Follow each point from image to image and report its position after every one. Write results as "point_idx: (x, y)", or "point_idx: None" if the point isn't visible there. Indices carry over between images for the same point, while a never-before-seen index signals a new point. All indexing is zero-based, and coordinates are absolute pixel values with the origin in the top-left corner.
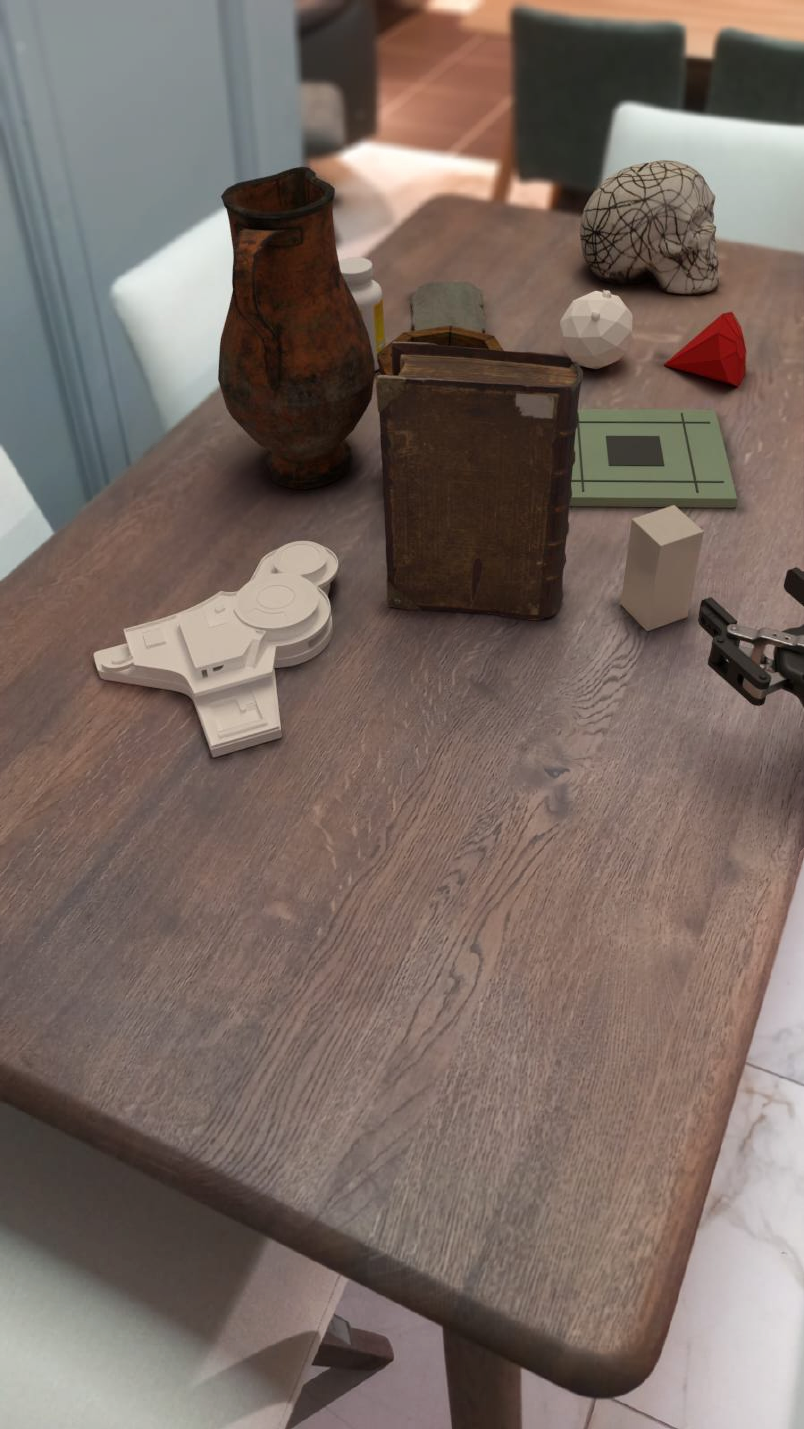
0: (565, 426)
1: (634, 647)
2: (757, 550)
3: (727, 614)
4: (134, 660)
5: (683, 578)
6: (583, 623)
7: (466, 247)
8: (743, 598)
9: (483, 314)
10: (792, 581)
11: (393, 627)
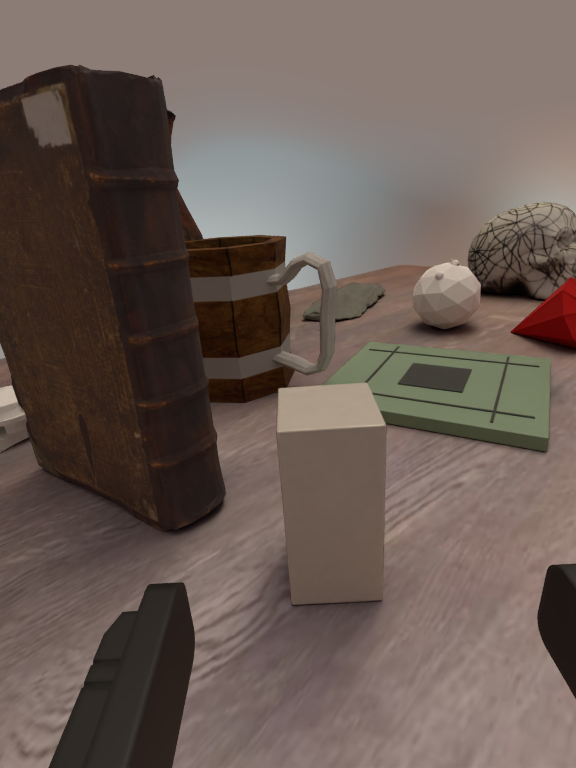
0: (95, 161)
1: (246, 631)
2: (567, 516)
3: (134, 701)
4: None
5: (354, 519)
6: (212, 555)
7: (396, 278)
8: (512, 596)
9: (376, 298)
10: (565, 618)
11: (13, 490)
